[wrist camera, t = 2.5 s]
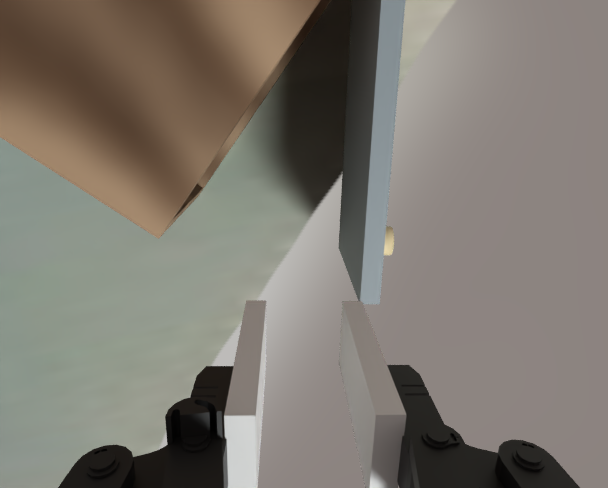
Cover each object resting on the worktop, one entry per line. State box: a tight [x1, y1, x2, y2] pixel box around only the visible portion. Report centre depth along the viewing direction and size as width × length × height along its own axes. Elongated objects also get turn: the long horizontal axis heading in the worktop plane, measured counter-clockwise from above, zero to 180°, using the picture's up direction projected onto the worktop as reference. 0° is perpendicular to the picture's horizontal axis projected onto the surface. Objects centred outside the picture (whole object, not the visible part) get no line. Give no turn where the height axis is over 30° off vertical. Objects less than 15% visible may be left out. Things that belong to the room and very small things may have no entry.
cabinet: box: [0, 0, 331, 239], centre depth 27 cm, size 20×14×12 cm
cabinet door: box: [339, 0, 405, 304], centre depth 29 cm, size 20×3×11 cm, turn 179°
